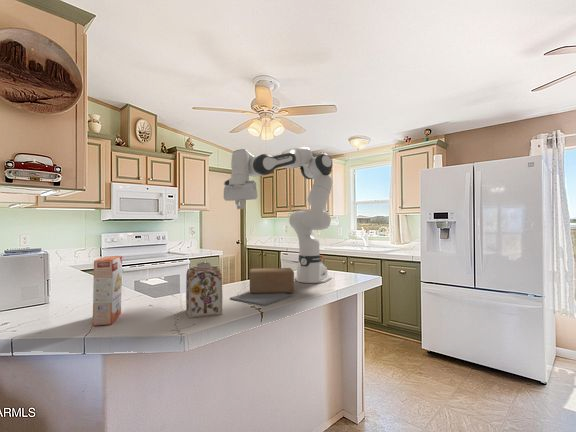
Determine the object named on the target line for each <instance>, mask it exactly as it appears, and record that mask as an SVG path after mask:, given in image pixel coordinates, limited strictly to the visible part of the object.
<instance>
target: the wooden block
mask: <svg viewBox="0 0 576 432" xmlns="http://www.w3.org/2000/svg"><path fill="white" fill-rule="evenodd" d="M294 291H295V271H294V270H293V269H292V268H291V267H276V268H275V267H269V268H266V267H265V268H263V267H262V268H250V269H249V292H250V293H251V294H261V293H286V294H292V293H294Z"/></svg>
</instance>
